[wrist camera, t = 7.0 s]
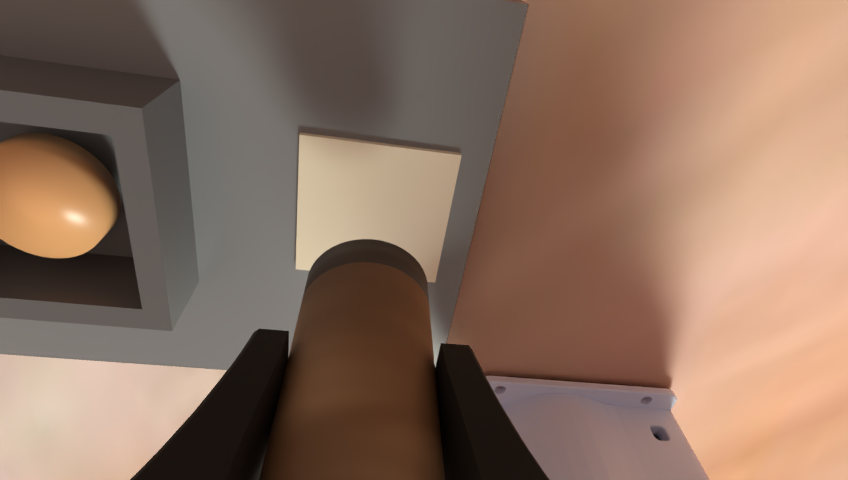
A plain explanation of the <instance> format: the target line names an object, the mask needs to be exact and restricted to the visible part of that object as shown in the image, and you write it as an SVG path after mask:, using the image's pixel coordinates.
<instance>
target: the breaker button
mask: <svg viewBox="0 0 848 480" xmlns="http://www.w3.org/2000/svg"><path fill="white" fill-rule="evenodd" d="M120 211H121V197H120V193H119V190H118V187H117V185H116V182H115V181H114V179H113V177H112V175H111V174H110V172H109V171H108V170H107V168H106V167H105V166H104V165H103V164H102V163H101V162H100V161H99V160H98V159H97V158H96V157H95V156H94V155H92V154H91V153H90V152H88V151H87V150H86V149H84V148H82V147H81V146H79V145H77V144H75V143H73V142H71V141H69V140H67V139H64V138H62V137H58V136H55V135H51V134H45V133H35V132H33V133H22V134H17V135H14V136H11V137H9V138H7V139H6V140H4V141H2V142H0V239H1V240H3V241H5V242H6V243H8V244H9V245H11V246H13V247H15V248H17V249H20V250H22V251H24V252H27V253H30V254H33V255H37V256H41V257H47V258H70V257H75V256H79V255H82V254H84V253H86V252H88V251H89V250H91V249H92V248H94V247H95V246H96V245H97V244H98V243H99V241H100V240H101V239H102V238H103V237H104V236H105V235H106V234H107V233H108V232H109V231H110V230H111V228H112V227H113V226H114V225H115V223H116V222H117V220H118V218H119V215H120Z"/></svg>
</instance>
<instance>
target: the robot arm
mask: <svg viewBox="0 0 848 480" xmlns="http://www.w3.org/2000/svg"><path fill="white" fill-rule="evenodd" d="M288 352H289V331H283V330H270V329H258V330H256V331H255V332H253V334H252V336H251V337H250V339H249V340H248V342H247V343H246V345H245V346H244V348H243V349H242V351H241V352H240V354H239V355H238V357H237V358H236V359H235V361H234V362H233V363H232V365H231V366H230V367H229V369H228V370H227V371H226V373H225V374H224V375H223V377H222V378H221V379H220V381H219V382H218V383H217V384H216V386H215V387H214V388H213V389H212V390H211V392H210V393H209V394H208V395H207V397H206V398H205V399H204V400H203V402H202V403H201V404H200V405H199V406H198V408H197V409H196V410H195V411H194V412H193V414H192V415H191V416H190V417H189V418H188V419H187V420H186V421H185V423H184V424H183V425H182V426H181V427H180V428H179V429H178V430H177V431H176V432H175V434H174V435H173V436H172V437H171V438H170V439H169V440H168V441H167V442H166V444H165V445H164V446H163V447H162V448H161V449H160V450H159V451H158V452H157V453H156V454H155V455H154V456H153V457H152V458H151V459H150V460H149V461H148V462H147V463H146V465H145V466H144V467H143V468H142V469H141V470H140V471H139V472H138V473H137V474H136V475H135V476H133V477H132V478H131V479H130V480H259V478H260V474H261V470H262V466H263V462H264V457H265V453H266V449H267V445H268V441H269V436H270V432H271V428H272V424H273V420H274V416H275V411H276V407H277V403H278V399H279V395H280V391H281V387H282V383H283V379H284V374H285V370H286V366H287V362H288ZM435 374H436V386H437V397H438V408H439V419H440V431H441V442H442V453H443V464H444V476H445V480H709V478H708V476H707V474H706V473H705V471H704V469H703V467H702V466H701V464H700V462H699V460H698V459H697V457H696V455H695V453H694V451H693V450H692V448H691V446H690V444H689V443H688V441H687V439H686V437H685V436H684V434H683V432H682V430H681V429H680V427H679V425H678V423H677V421H676V420H675V418H674V416H673V414H672V413H671V411H670V410H671V409H672V407H673V405H674V404H675V402H676V399H677V398H676V396H675V394H674V392H673V391H672V390H671V389H665V388H652V387H638V386H625V385H611V384H598V383H584V382H570V381H557V380H543V379H530V378H516V377H503V376H485V374H484V373H483V371H482V369H481V367H480V365H479V363H478V361H477V359H476V357H475V355H474V353H473V350H472V349H471V348H470V347H469V345H457V344H445V343H441V345H440V349H439V354H438V358H437V362H436V367H435ZM498 386H501V387H498Z"/></svg>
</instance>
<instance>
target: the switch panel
mask: <svg viewBox="0 0 848 480" xmlns="http://www.w3.org/2000/svg"><path fill="white" fill-rule="evenodd" d="M527 8H528V4H527V3H525V2H523V1H522V0H0V142H2V141H4V140H6V139H7V138H9V137H11V136H14V135H17V134H22V133H33V132H35V133H45V134H51V135H55V136H58V137H62V138H64V139H67V140H69V141H71V142H73V143H75V144H77V145H79V146H81V147H82V148H84V149H86V150H87V151H88V152H90V153H91V154H92V155H94V156H95V157H96V158H97V159H98V160H99V161H100V162H101V163H102V164H103V165H104V166H105V167H106V168H107V170H108V171H109V172H110V174H111V175H112V177H113V179H114V181H115V182H116V185H117V187H118V190H119V193H120V197H121V211H120V215H119V218H118V220H117V222H116V223H115V225H114V226H113V227H112V228H111V230H110V231H109V232H108V233H107V234H106V235H105V236H104V237H103V238H102V239H101V240H100V241H99V243H98V244H97V245H96V246H95V247H94V248H92V249H91V250H89V251H88V252H86V253H84V254H82V255H79V256H75V257H70V258H47V257H41V256H37V255H33V254H30V253H27V252H24V251H22V250H20V249H17V248H15V247H13V246H11V245H9V244H8V243H6V242H5V241H3V240H1V239H0V354H8V355H22V356H36V357H50V358H65V359H79V360H93V361H107V362H121V363H136V364H150V365H164V366H178V367H192V368H206V369H221V370H228V369H229V367H230V366H231V365H232V363H233V362H234V361H235V359H236V358H237V357H238V355H239V354H240V352H241V351H242V349H243V348H244V346H245V345H246V343H247V342H248V340H249V339H250V337H251V336H252V334H253V332H255V331H256V330H258V329H270V330H283V331H289V352H288V357H289V353H290V349H291V344H292V340H293V336H294V332H295V328H296V324H297V319H298V315H299V311H300V307H301V303H302V298H303V294H304V290H305V286H306V282H307V278H308V274H309V271H310V269H311V267H312V265H313V264H314V262H315V261H316V260H317V259H318V258H319V256H320V255H322V254H323V253H324V252H325V251H327V250H328V249H330V248H332V247H334V246H336V245H338V244H340V243H343V242H347V241H351V240H358V239H374V240H381V241H385V242H389V243H391V244H394V245H397V246H399V247H400V248H402V249H404V250H405V251H407V252H408V253H410V254H411V255H412V256H413V257H414V258H415V259H416V260H417V261H418V262H419V264H420V265H421V267H422V268H423V270H424V273H425V275H426V279H427V285H428V296H429V307H430V318H431V330H432V341H433V352H434V363H435V367H436V362H437V358H438V354H439V349H440V345H441V343H445V344H446V343H447V339H448V335H449V331H450V327H451V323H452V318H453V314H454V310H455V306H456V302H457V298H458V294H459V289H460V285H461V281H462V277H463V273H464V269H465V265H466V261H467V256H468V252H469V248H470V244H471V240H472V236H473V232H474V227H475V223H476V219H477V215H478V211H479V207H480V203H481V198H482V194H483V190H484V186H485V182H486V178H487V174H488V170H489V165H490V161H491V157H492V153H493V149H494V145H495V141H496V136H497V132H498V128H499V124H500V120H501V116H502V112H503V108H504V103H505V99H506V95H507V91H508V87H509V83H510V79H511V74H512V70H513V66H514V62H515V58H516V54H517V50H518V46H519V41H520V37H521V33H522V29H523V25H524V21H525V17H526V12H527Z"/></svg>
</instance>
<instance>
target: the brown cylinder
mask: <svg viewBox="0 0 848 480" xmlns="http://www.w3.org/2000/svg"><path fill="white" fill-rule="evenodd" d="M259 480H445V476H444V464H443V453H442V442H441V431H440V419H439V408H438V397H437V386H436V374H435V363H434V352H433V341H432V330H431V318H430V307H429V296H428V285H427V279H426V275H425V273H424V270H423V268H422V267H421V265H420V264H419V262H418V261H417V260H416V259H415V258H414V257H413V256H412V255H411V254H410V253H408V252H407V251H405V250H404V249H402V248H400V247H399V246H397V245H394V244H391V243H389V242H385V241H381V240H374V239H358V240H351V241H347V242H343V243H340V244H338V245H336V246H334V247H332V248H330V249H328V250H327V251H325V252H324V253H323V254H322V255H320V256H319V258H318V259H317V260H316V261H315V262H314V264H313V265H312V267H311V269H310V271H309V274H308V278H307V282H306V286H305V290H304V294H303V298H302V303H301V307H300V311H299V315H298V319H297V324H296V328H295V332H294V336H293V340H292V344H291V349H290V353H289V357H288V362H287V366H286V370H285V374H284V379H283V383H282V387H281V391H280V395H279V399H278V403H277V407H276V411H275V416H274V420H273V424H272V428H271V432H270V436H269V441H268V445H267V449H266V453H265V457H264V462H263V466H262V470H261V474H260V478H259Z"/></svg>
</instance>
